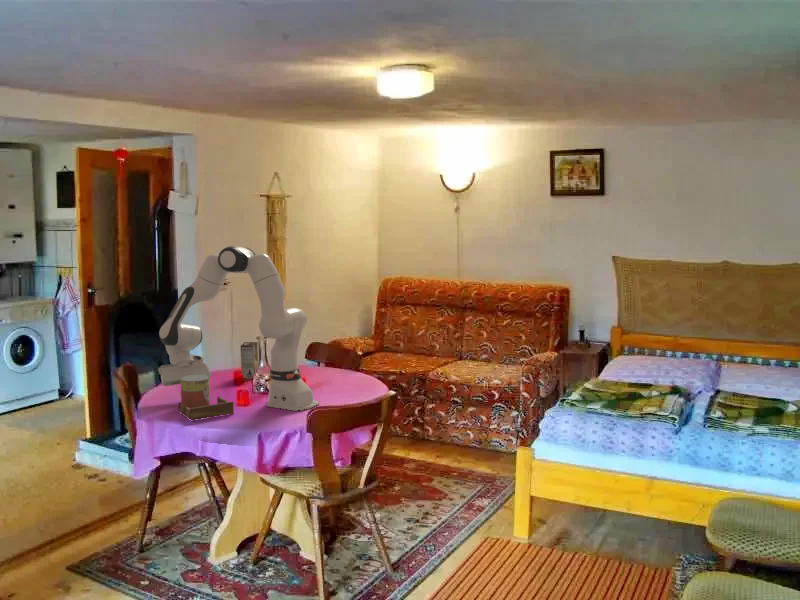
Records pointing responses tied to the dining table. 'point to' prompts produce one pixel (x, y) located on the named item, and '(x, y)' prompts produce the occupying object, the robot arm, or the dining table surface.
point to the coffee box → (249, 359)
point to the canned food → (195, 390)
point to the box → (207, 409)
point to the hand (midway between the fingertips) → (190, 390)
